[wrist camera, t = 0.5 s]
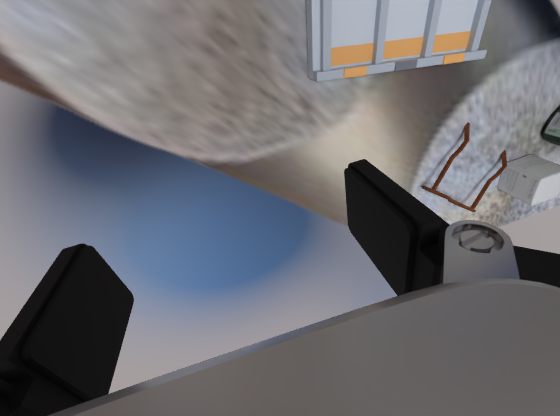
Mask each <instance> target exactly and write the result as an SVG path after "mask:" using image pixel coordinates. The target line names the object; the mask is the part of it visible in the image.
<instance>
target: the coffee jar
mask: <svg viewBox="0 0 560 416" xmlns="http://www.w3.org/2000/svg"><path fill="white" fill-rule="evenodd" d="M543 137H544V139H546V140H547V141H549V142H551V143H553V144H556V145H560V108H559V109H558V110H557V111H555V113H554V114H553V115H552V116H551V117H550V119H549V120H548V122H547V124H546V127H545V129H544V132H543Z"/></svg>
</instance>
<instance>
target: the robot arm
mask: <svg viewBox="0 0 560 416" xmlns="http://www.w3.org/2000/svg"><path fill="white" fill-rule="evenodd" d="M344 175H345V189H346V203H347V216H348V226H349V229H350V231H351V233H352V235H353V236H354V237H355V239H356V240H357V241H358V243H359V244H360V245H361V247H362V248H363V250H364V251H365V252H366V253H367V255H368V256H369V257H370V259H371V260H372V262H373V263H374V264H375V266H376V267H377V269H378V270H379V271H380V272H381V274H382V275H383V277H384V278H385V279H386V281H387V282H388V283H389V285H390V286H391V288H392V289H393V290H394V291H395V293H396V294H397V296H396V297H393V298H391V299H387V300H384V301H381V302H378V303H374V304H371V305H368V306H365V307H362V308H359V309H356V310H353V311H350V312H347V313H344V314H341V315H338V316H335V317H332V318H329V319H326V320H323V321H320V322H317V323H314V324H311V325H308V326H305V327H302V328H299V329H296V330H293V331H291V332H288V333H284V334H282V335H279V336H276V337H273V338H270V339H267V340H264V341H261V342H258V343H255V344H252V345H250V346H246V347H243V348H240V349H238V350H235V351H232V352H229V353H226V354H223V355H220V356H217V357H214V358H211V359H208V360H205V361H203V362H200V363H197V364H194V365H191V366H188V367H185V368H182V369H179V370H176V371H173V372H171V373H168V374H165V375H162V376H159V377H156V378H153V379H151V380H148V381H145V382H142V383H139V384H136V385H133V386H130V387H127V388H125V389H122V390H119V391H116V392H113V393H110V394H108V393H109V389H110V386H111V382H112V378H113V375H114V371H115V367H116V364H117V360H118V357H119V353H120V350H121V346H122V342H123V339H124V335H125V331H126V328H127V324H128V321H129V317H130V313H131V310H132V306H133V302H134V298H133V295H132V293H131V292H130V290H129V289H128V288H127V287H126V286H125V284H124V283H123V282H122V281H121V280H120V278H119V277H118V276H117V275H116V274H115V272H114V271H113V270H112V269H111V268H110V266H109V265H108V264H107V263H106V262H105V260H104V259H103V258H102V257H101V256H100V255H99V253H98V252H97V251H96V250H95V248H94V247H92V246H87V245H86V244H78V245H75V246H72V247H68V248H65V249H63V250H62V251H61V252H60V254H59V255H58V257H57V258H56V260H55V261H54V262H53V264H52V265H51V267H50V268H49V270H48V271H47V273H46V274H45V276H44V277H43V279H42V280H41V282H40V283H39V285H38V286H37V287H36V289H35V290H34V292H33V293H32V295H31V296H30V298H29V299H28V301H27V302H26V304H25V305H24V306H23V308H22V309H21V311H20V313H19V314H18V315H17V317H16V318H15V320H14V321H13V323H12V324H11V326H10V327H9V328H8V330H7V332H6V333H5V334H4V336H3V337H2V339H1V340H0V416H560V254H556V253H550V252H545V251H540V250H534V249H529V248H524V247H518V246H513V244H512V241H511V239H510V237H509V236H508V235H507V234H506V233H505V232H504V231H503V230H501V229H500V228H498V227H496V226H494V225H491V224H488V223H486V222H481V221H474V220H464V221H458V222H455V223H453V224H451V225H449V224H448V223H446V222H445V221H444V220H443V219H442V218H441V217H439V216H438V215H437V214H435V213H434V212H433V211H432V210H430V209H429V208H428V207H426V206H425V205H424V204H422V203H421V202H420V201H419V200H417V199H416V198H415V197H413V196H412V195H411V194H410V193H408V192H407V191H406V190H404V189H403V188H402V187H400V186H399V185H398V184H397V183H395V182H394V181H393V180H391V179H390V178H389V177H388V176H386V175H385V174H384V173H382V172H381V171H380V170H378V169H377V168H376V167H375V166H373V165H372V164H371V163H369V162H368V161H367V160H365V159H363V160H359V161H356V162H352V163H349V165H348V168H346V169H345V171H344Z"/></svg>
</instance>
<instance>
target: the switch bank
mask: <svg viewBox="0 0 560 416" xmlns="http://www.w3.org/2000/svg"><path fill="white" fill-rule="evenodd" d="M490 4H491V0H306V14H307V50H308V78H310V79H312V80H315V81H324V80H332V79H339V78H348V77H355V76H362V75H368V74H375V73H382V72H389V71H398V70H405V69H413V68H418V67H425V66H432V65H439V64H448V63H456V62H463V61H468V60H475V59H482V58H485V55H486V52H487V50H482V49H478V47H479V43H480V40H481V36H482V32H483V29H484V25H485V22H486V18H487V14H488V11H489V7H490Z"/></svg>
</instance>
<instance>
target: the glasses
mask: <svg viewBox="0 0 560 416" xmlns="http://www.w3.org/2000/svg"><path fill="white" fill-rule="evenodd" d="M469 128H470V123H467V124H466V126H465V134H464V142H463V143H462V144H461V146H460V147H459V148H458V150H456V151H455V152H454V153H453V154H452V155H451V156H450V158H449V160H448V161H447V163H446V165H445V166H444V168H443V170H442V171H441V173H440V175H439V177H438V178H437V180H436V182H435V183H434V185H433V187H432V189H430V188H428V187H425V186H423V189H425V190H427V191H429V192H431V193H434V194H436V195H438V196H441V197H443V198H446V199H448V200H449V202H451V203H453V204H455V205H458V206H460V207H462V208H465V209H467V210H470V211H472V212H475V211H476V210H474V209H475V207H476V205H477V204H478V202H479V201H480V199H481V198H482V196H483V194H484V193H485V191H486V190H487V188H488V187H489V185H490V183H491V182H492V181H493V180H494V179H495V178H496V177H498V176H499V175H500V174H501V173H502V172H503V170H504V169H505V168H506V167H507V160H506V151H505V150H504V151H503V152H502V153H501V154H502V167H501V168H500V169H499V170H498V172H497V173H496V174H495V175H493V176H492V177H491V178H490V179H488V180H487V182H486V184H485V185H484V187H483V188H482V190H481V192H480V193H479V195H478V196H477V198H476V199H475V201H474V203H473V204H472V206H471V207H468V206H466V205H463V204H461V203H459V202H457V201H455V200H453V199H451V198H450V197H449V196H447V195H445V194H442V193H440V192H438V191H435V190H436V188H437V187H438V185H439V183H440V182H441V180H442V178H443V176H444V175H445V173H446V171H447V170H448V168H449V166H450V165H451V163H452V161H453V159H454V158H455V157H456V156H457V155H458V154H459V153H460V152H461V151H462V150H463V148H464V147H465V146H466V144H467V143H468V142H469Z"/></svg>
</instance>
